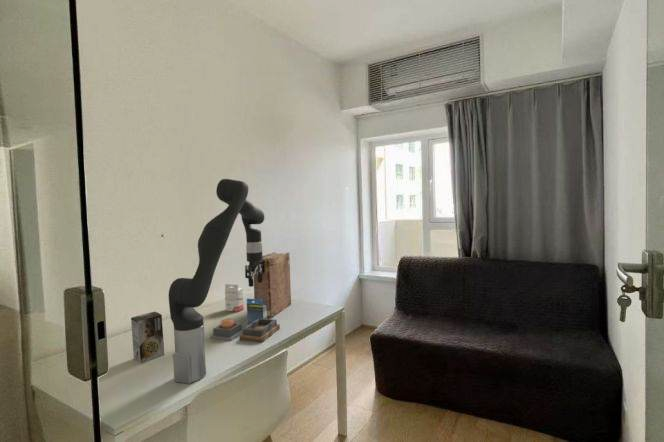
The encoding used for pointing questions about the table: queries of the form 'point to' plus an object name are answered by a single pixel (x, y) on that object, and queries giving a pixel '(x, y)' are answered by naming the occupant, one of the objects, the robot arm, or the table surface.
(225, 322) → the button
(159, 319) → the coffee box
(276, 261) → the book
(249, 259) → the robot arm
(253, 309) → the label tape box
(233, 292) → the ink cartridge box
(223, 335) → the button panel
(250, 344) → the table surface
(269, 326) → the tray
